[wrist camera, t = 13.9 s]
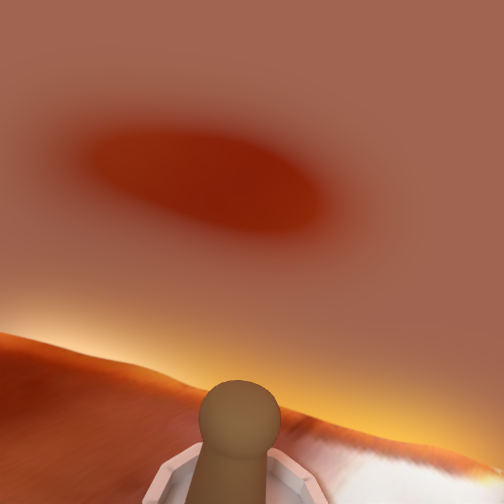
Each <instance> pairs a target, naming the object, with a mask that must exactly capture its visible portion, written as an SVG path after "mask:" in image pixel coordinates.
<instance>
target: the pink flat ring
mask: <svg viewBox="0 0 504 504" xmlns="http://www.w3.org/2000/svg"><path fill="white" fill-rule="evenodd" d="M202 444H203V442H200V443H196V444H194V445H193V446H191V447H189V448H188V449H186V450H184V451H183V452H181V453H180V454H178V455H176V456H175V457H173V458H171V459H170V460H168V461H167V462H165V463H163V464H162V465H161V467H160V469H159V471H158V473H157V475H156V476H155V478H154V480H153V482H152V484H151V486H150V488H149V490H148V491H147V493H146V495H145V497H144V499H143V501H142V504H184V503H185V500H186V496H187V493H188V490H189V487H190V483H191V480H192V477H193V473H194V470H195V467H196V463H197V460H198V457H199V454H200V450H201V447H202ZM266 504H328V502H327V500H326V498H325V496H324V494H323V492H322V490H321V488H320V487H319V485H318V483H317V481H316V479H315V477H314V476H313V475H312V474H311V473H309V472H308V471H307V470H305V469H304V468H303V467H301V466H300V465H299V464H298V463H296V462H295V461H294V460H292V459H291V458H290V457H288V456H287V455H286V454H285V453H283V452H282V451H281V450H279V449H275V448H272V447H271V448H270V449H269V450H268V451H267V475H266Z"/></svg>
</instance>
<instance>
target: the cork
mask: <svg viewBox="0 0 504 504" xmlns="http://www.w3.org/2000/svg"><path fill="white" fill-rule="evenodd" d="M198 421H199V426H200V431H201V436H202V438H203V439H204V440H203V444H202V447H201V450H200V454H199V457H198V460H197V463H196V467H195V470H194V473H193V477H192V480H191V483H190V487H189V490H188V493H187V496H186V500H185V503H184V504H266V475H267V451H268V450H269V449H270V448H271V447H272V446H273V444H274V442H275V440H276V438H277V436H278V434H279V431H280V427H281V414H280V409H279V406H278V404H277V402H276V400H275V398H274V396H273V395H272V394H271V393H270V392H269V391H268V390H266V389H265V388H263V387H262V386H260V385H258V384H255V383H252V382H248V381H242V380H234V381H227V382H223V383H220V384H219V385H217V386H215V387H214V388H213V389H212V390H211V391H210V392H209V393H208V394H207V395H206V396H205V398H204V400H203V402H202V404H201V408H200V412H199V420H198Z"/></svg>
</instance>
